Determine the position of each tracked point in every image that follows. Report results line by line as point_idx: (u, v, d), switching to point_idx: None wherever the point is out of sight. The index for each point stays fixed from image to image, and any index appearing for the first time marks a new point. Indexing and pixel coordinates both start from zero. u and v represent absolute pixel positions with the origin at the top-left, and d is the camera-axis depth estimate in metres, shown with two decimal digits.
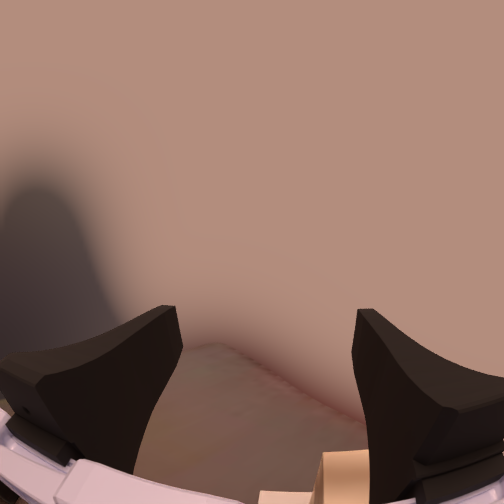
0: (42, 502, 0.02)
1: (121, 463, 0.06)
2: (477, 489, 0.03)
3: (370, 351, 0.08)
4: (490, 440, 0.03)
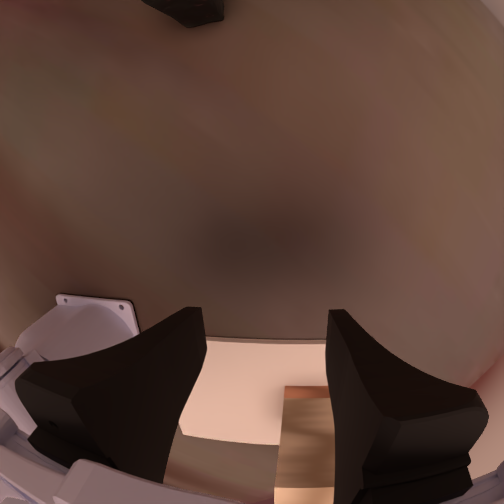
0: (42, 502, 0.02)
1: (152, 473, 0.06)
2: (436, 503, 0.03)
3: (336, 353, 0.08)
4: (450, 453, 0.04)
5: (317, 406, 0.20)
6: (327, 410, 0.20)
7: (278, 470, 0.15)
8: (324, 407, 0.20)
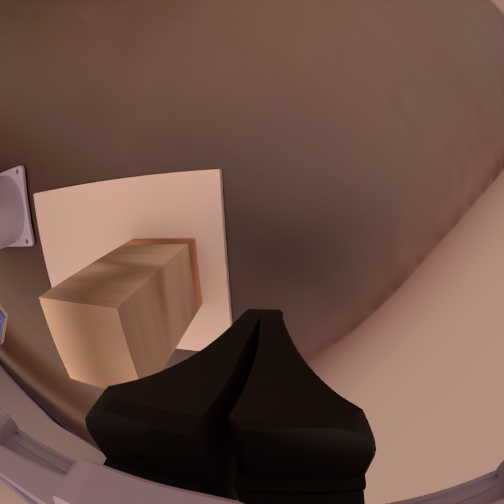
0: (42, 502, 0.02)
1: (234, 489, 0.06)
2: None
3: None
4: (334, 473, 0.04)
5: (149, 248, 0.18)
6: (156, 251, 0.17)
7: (57, 285, 0.12)
8: (155, 249, 0.18)
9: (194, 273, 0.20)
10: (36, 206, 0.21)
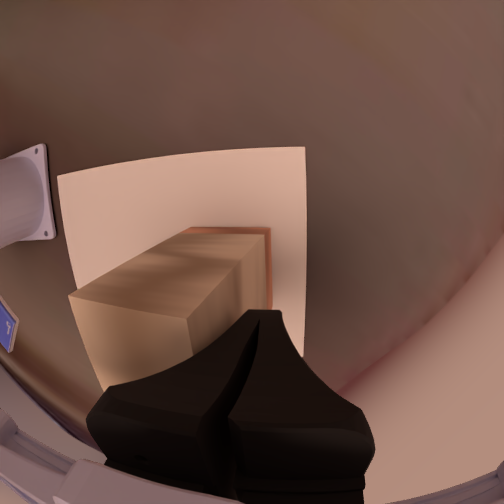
0: (42, 502, 0.02)
1: (235, 489, 0.06)
2: None
3: None
4: (333, 473, 0.04)
5: (215, 238, 0.15)
6: (226, 241, 0.14)
7: (94, 280, 0.10)
8: (224, 239, 0.15)
9: (268, 270, 0.16)
10: (61, 191, 0.18)
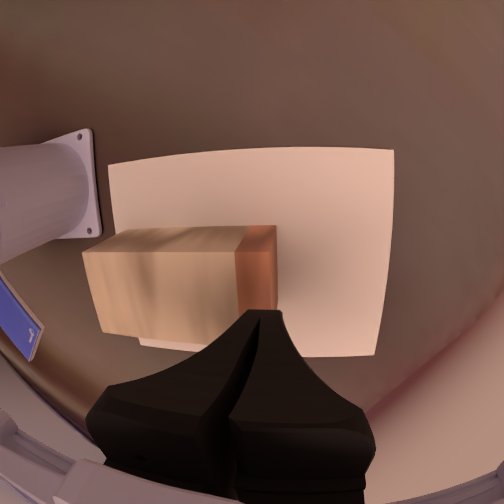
0: (42, 502, 0.02)
1: (234, 489, 0.06)
2: None
3: None
4: (334, 473, 0.04)
5: (224, 237, 0.15)
6: (211, 242, 0.14)
7: None
8: (219, 240, 0.14)
9: (250, 299, 0.13)
10: (112, 182, 0.18)
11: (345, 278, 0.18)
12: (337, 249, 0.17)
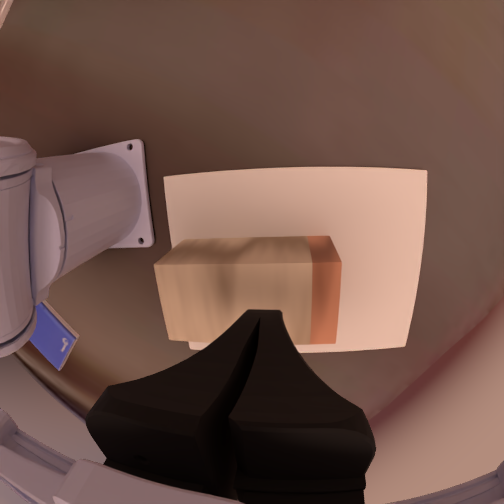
0: (42, 502, 0.02)
1: (234, 489, 0.06)
2: None
3: None
4: (334, 473, 0.04)
5: (292, 248, 0.17)
6: (284, 253, 0.16)
7: None
8: (290, 251, 0.16)
9: (322, 302, 0.15)
10: (168, 194, 0.19)
11: (385, 280, 0.19)
12: (379, 256, 0.19)
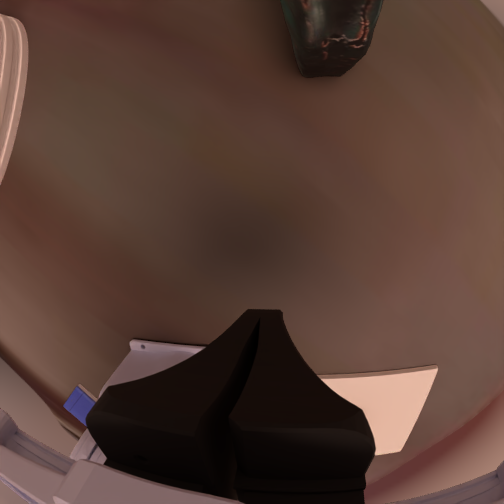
0: (42, 502, 0.02)
1: None
2: None
3: None
4: (334, 473, 0.04)
5: None
6: None
7: None
8: None
9: None
10: None
11: (393, 425, 0.24)
12: (392, 415, 0.24)
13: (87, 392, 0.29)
